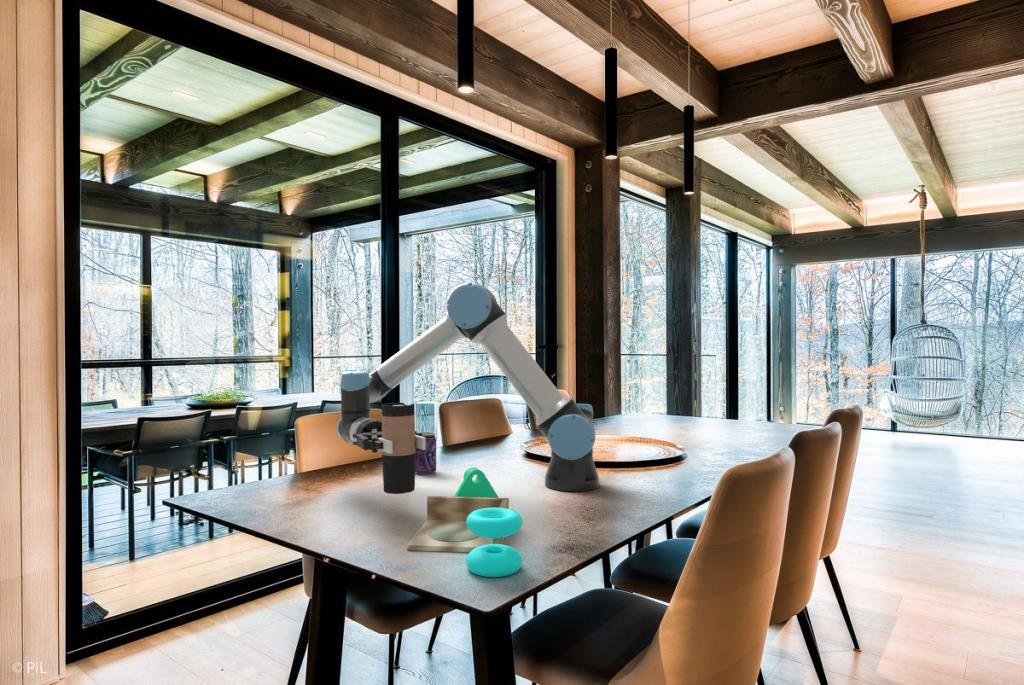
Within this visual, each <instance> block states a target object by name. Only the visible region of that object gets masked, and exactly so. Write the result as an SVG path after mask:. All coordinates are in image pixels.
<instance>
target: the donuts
mask: <svg viewBox="0 0 1024 685" xmlns="http://www.w3.org/2000/svg"><path fill="white" fill-rule="evenodd" d="M466 524H467V527H468V529H469V530H470V531H471V532H472V533H474V534H476V535H478V536H481V537H485V538H502V537H505V538H507V537H510V536H513V535H515V534H516V533H518V532H519V530H520V529H521V528H522V526H523V517H522V516H521V514H520V513H519V512H517V510H516V511H515V510H514V509H511V508H509V509H507V508H483V509H478V510H475V511H473V512H472V513H470V514H469V515H468V517H467V520H466ZM465 564H466V566H467V569H468V570H469V571H470V572H471V573H473V574H475V575H477V576H480V577H486V578H500V577H501V578H502V577H507V576H511V575H514V574H515V573H517V572H519V569H521V567H522V566H523V557H522V555H521V553H520V552H519V551H518V550H517V549H516V548H514V547H512V546H510V545H508V544H507V545H506V544H504V543H503V544H487V545H482V546H479V547H477V548H475V549H473V550H472V551H471V552H468V554H467V557H466V560H465Z"/></svg>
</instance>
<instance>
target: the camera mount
mask: <svg viewBox="0 0 1024 685" xmlns="http://www.w3.org/2000/svg"><path fill="white" fill-rule="evenodd" d="M474 476H475V479H473V478H474ZM448 497H486V498H500V497H499V496H498V494H497V492H496V491H495V489H494V487H493V485H492V484H491V483H490V481H489V480H488V478H487V476H486V475H485V473H484V472H483V471H482V470H481V469H478V468H477V467H476V466H475V467H474V466H473V467H472V466H471V467H469V468H467V469H466V470H465V471H464V473H463V481H462V482H461V484H460V485H459V487H458V489H457V490H456V493H455V494H454V495H450V496H448Z"/></svg>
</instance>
